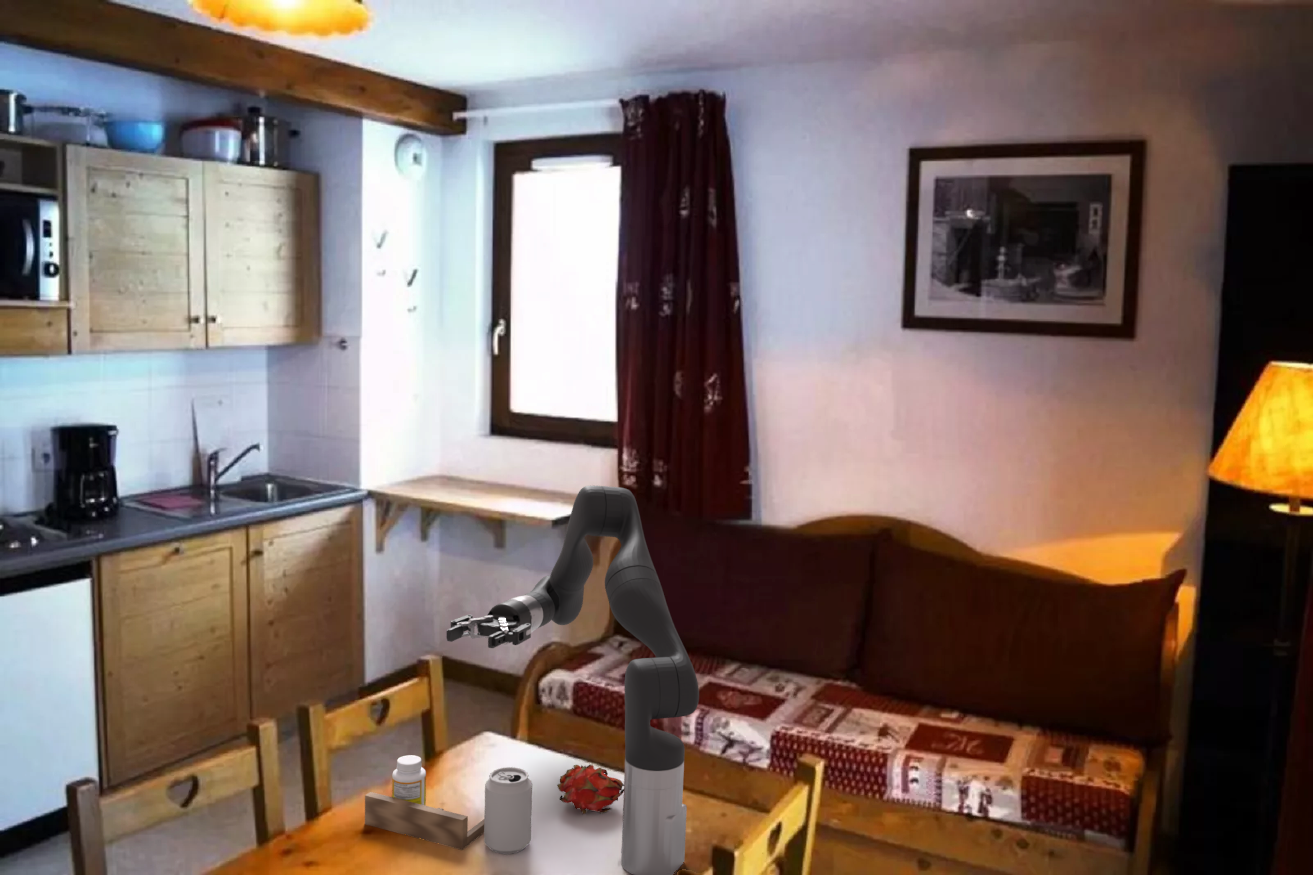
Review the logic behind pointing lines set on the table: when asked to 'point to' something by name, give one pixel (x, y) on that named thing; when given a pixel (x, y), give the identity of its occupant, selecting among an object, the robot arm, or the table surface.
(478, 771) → the table surface
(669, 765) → the robot arm
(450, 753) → the table surface
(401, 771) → the supplement bottle
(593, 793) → the dragon fruit
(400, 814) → the l-shaped bracket
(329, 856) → the table surface
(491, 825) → the can
